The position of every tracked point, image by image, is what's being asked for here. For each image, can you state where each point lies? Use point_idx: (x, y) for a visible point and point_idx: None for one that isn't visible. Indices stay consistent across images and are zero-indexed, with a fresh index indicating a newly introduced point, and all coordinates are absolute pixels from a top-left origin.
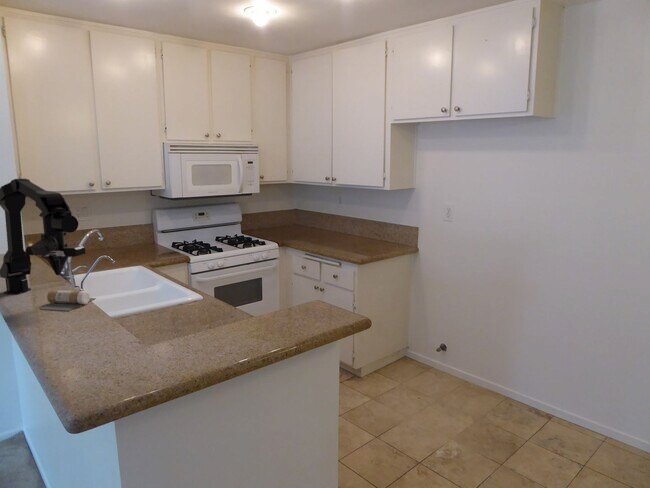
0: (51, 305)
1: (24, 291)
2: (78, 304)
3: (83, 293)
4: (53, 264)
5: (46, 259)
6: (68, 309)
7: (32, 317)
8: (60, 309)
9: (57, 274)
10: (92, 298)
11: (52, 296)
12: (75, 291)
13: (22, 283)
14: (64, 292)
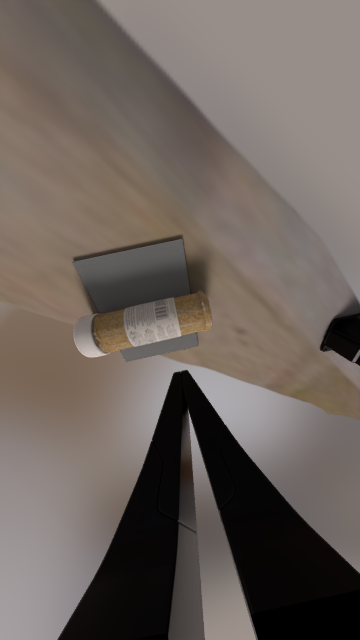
0: (175, 280)
1: (326, 335)
2: None
3: (74, 339)
4: (203, 455)
5: (335, 569)
6: (85, 268)
7: (116, 135)
8: (109, 259)
9: (175, 374)
10: (131, 358)
11: (185, 300)
12: (115, 340)
13: (351, 344)
14: (148, 323)
